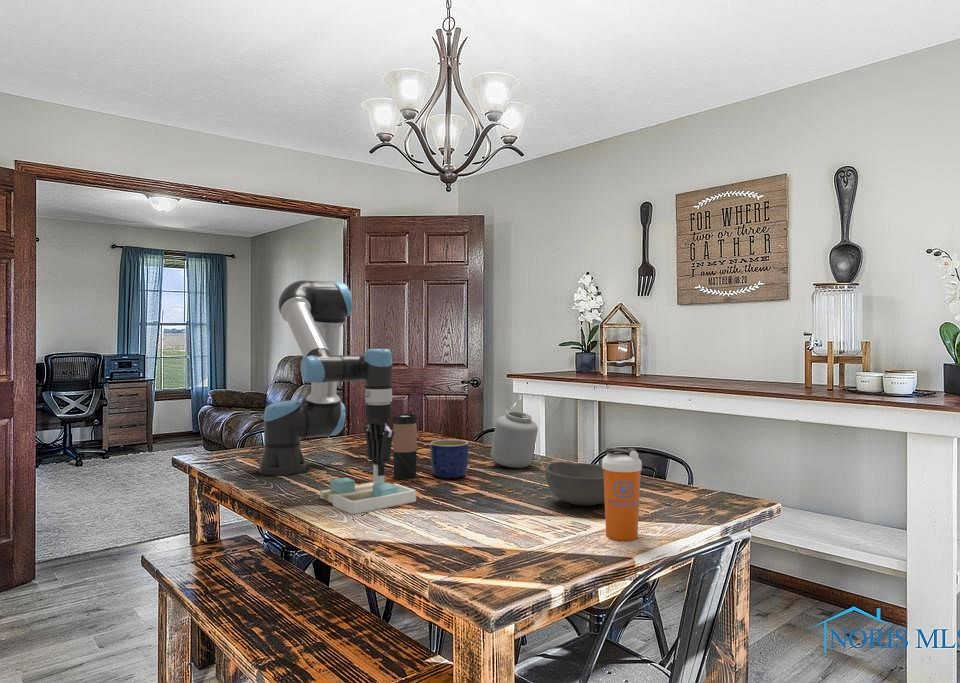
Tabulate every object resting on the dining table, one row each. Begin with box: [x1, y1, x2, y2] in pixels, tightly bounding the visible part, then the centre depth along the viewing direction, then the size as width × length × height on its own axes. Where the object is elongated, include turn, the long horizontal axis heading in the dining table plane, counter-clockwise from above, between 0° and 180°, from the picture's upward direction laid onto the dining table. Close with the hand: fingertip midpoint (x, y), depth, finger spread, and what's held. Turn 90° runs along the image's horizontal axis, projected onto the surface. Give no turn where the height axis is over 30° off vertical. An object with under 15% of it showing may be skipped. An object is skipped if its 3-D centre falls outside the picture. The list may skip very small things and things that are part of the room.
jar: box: [490, 395, 544, 469], centre depth 224 cm, size 19×15×25 cm
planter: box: [430, 439, 469, 479], centre depth 209 cm, size 12×12×11 cm
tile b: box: [330, 477, 356, 494], centre depth 181 cm, size 5×5×3 cm
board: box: [319, 481, 373, 504], centre depth 183 cm, size 10×18×2 cm, turn 130°
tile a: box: [372, 482, 398, 497], centre depth 179 cm, size 5×5×3 cm
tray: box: [332, 483, 417, 515], centre depth 175 cm, size 11×20×3 cm, turn 130°
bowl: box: [544, 461, 605, 507], centre depth 174 cm, size 20×20×10 cm
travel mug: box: [392, 413, 418, 480], centre depth 207 cm, size 8×8×20 cm
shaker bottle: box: [601, 447, 643, 542], centre depth 146 cm, size 9×9×20 cm
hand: (378, 486), depth 181 cm, fingers closed
